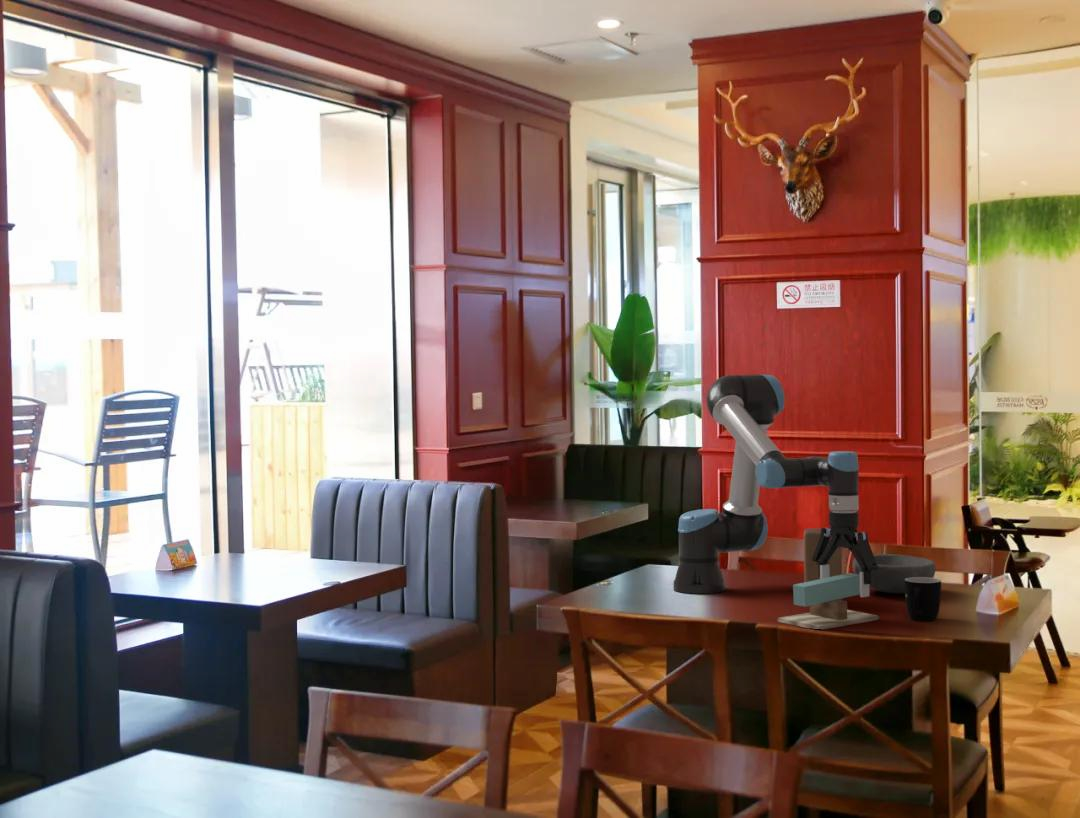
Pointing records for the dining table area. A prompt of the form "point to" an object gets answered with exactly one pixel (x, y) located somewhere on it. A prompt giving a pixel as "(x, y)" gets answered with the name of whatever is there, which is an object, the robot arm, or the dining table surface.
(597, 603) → the dining table surface
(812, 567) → the wooden block
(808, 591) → the bar
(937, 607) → the mug
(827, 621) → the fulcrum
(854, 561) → the bowl
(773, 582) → the dining table surface
